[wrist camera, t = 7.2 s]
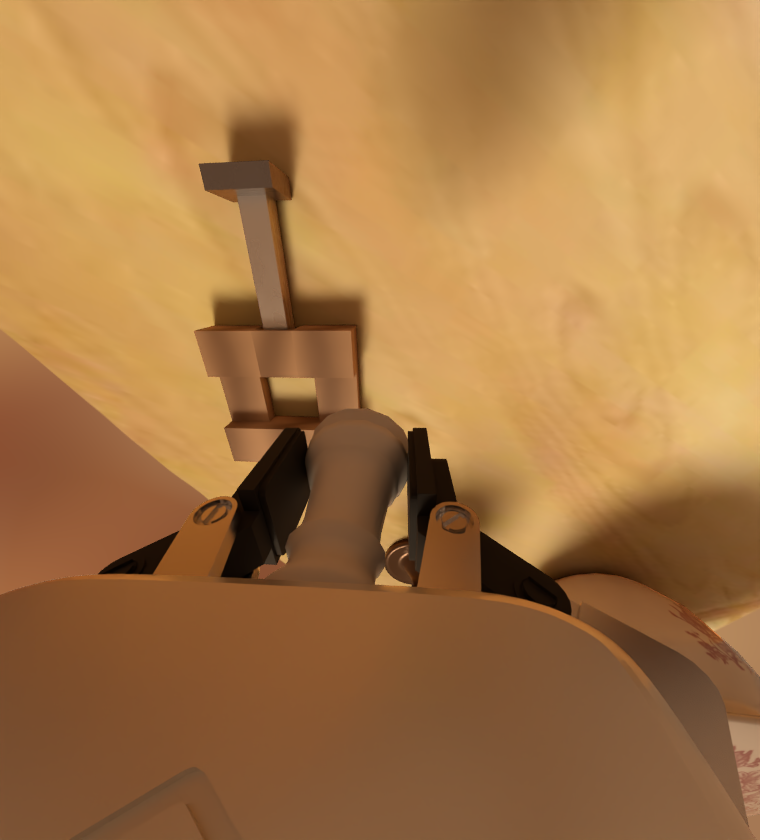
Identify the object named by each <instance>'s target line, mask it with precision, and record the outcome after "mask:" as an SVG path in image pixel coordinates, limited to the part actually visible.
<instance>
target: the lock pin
mask: <svg viewBox="0 0 760 840" xmlns="http://www.w3.org/2000/svg"><path fill="white" fill-rule="evenodd" d="M199 167H200V171H201V175H202V179H203V183H204V188H205V191H208V192H210V193H213V194H215V195H217V196H220V197H222V198H224V199H227V200H229V201H232V202H238V203H239V208H240V213H241V218H242V223H243V228H244V233H245V238H246V243H247V248H248V253H249V258H250V263H251V268H252V273H253V278H254V283H255V288H256V293H257V298H258V303H259V308H260V313H261V318H262V323H263V328H264V330H294V329H295V326H294V320H293V313H292V306H291V300H290V293H289V286H288V280H287V273H286V266H285V260H284V253H283V246H282V240H281V233H280V226H279V220H278V213H277V206H276V201H280V200H292V199H291V192H290V184H289V177H288V176H287V175H285V174H284V173H283V172H282V171H281V170H279V169H278V168H277V167H276V166H275V165H273V164H272V163H271V162H270V161H269V160H264V161H244V162H224V163H204V164H199Z"/></svg>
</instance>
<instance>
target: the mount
mask: <svg viewBox="0 0 760 840" xmlns="http://www.w3.org/2000/svg"><path fill="white" fill-rule="evenodd" d="M194 333H195V336H196V339H197V342H198V345H199V349H200V352H201V355H202V358H203V361H204V365H205V368H206V371H207V374H208V377H220V380H221V383H222V386H223V390H224V393H225V397H226V400H227V404H228V407H229V410H230V414H231V417H232V422H231V423H230V424H228V425H227V426H226V427H225V428H224V429H225V432H226V435H227V439H228V442H229V445H230V448H231V451H232V455H233V458H234V461H250V462H259V461H260V459H261V458H262V457H263V455H264V454H265V453H266V452H267V450H268V449H269V448H270V446H271V445H272V444H273V443H274V441H275V440H276V439H277V438H278V436H279V435H280V434H281V432H282V431H283V430H284V429H285V428H300V429H301V431H304V432H305V435H306V441H307V446H309V443H310V440H311V439H312V437H313V434H314V431H315V428H316V427H317V426H318V425H319V424H320V423H321V422H322V421H323V420H324V419H325V418H326V417H327V416H328V415H331V414H334V413H336V412H339V411H341V410H344V409H347V408H348V409H361V407H360V388H359V369H358V350H357V330H356V325H302V326H300V327H298V328H296V329H294V330H264V328H263V325H224V326H211V327H207V328H203V329H200V330H196V331H194ZM267 377H290V378H315V386H316V393H317V401H318V409H319V417H299V416H275V414H274V409H273V405H272V400H271V395H270V390H269V386H268V381H267Z"/></svg>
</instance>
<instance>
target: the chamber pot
mask: <svg viewBox="0 0 760 840" xmlns="http://www.w3.org/2000/svg"><path fill="white" fill-rule="evenodd" d="M554 581H555V582H557V583H558V584H559V585H560V587H561V588H562V589H563V590H564V591H565V592H566V594H567V596H568V598H569V599H570V600H572V601H574V602H576V603H577V604H579V605H580V604H581V602H582V601H583V602H585V603H587V604H589V605H590V606H592V607H594V608H596V609H598V610H600V611H602V612H604V613H605V614H607V615H609V616H611V617H613V618H615V619H617V620H619V621H621V622H622V623H624V624H626V625H628V626H630V627H632V628H634V629H636V630H637V631H639V632H641V633H643V634H645V635H647V636H649V637H651V638H652V639H654V640H656V641H658V642H660V643H662V644H664V645H666V646H667V647H669V648H671V649H673V650H675V651H677V652H679V653H680V654H682V655H683V656H685V657H686V658H688V659H689V660H691V661H692V662H694V663H695V664H696V665H697V666H698V667H699V668H700V669H701V670H702V671H703V672H704V673H705V674H707V675H708V677H709V678H710V679H711V681H712V682H713V683H714V685H715V686H716V687H717V689H718V690H719V692H720V694H721V697H722V699H723V702H724V704H725V708H726V713H727V718H728V723H729V729H730V734H731V739H732V744H733V749H734V754H735V759H736V764H737V769H738V774H739V779H740V785H741V790H742V795H743V800H744V805H745V810H746V815H747V816H753V815H758V814H760V677H759V675H758V674H757V673H756V672H755V671H754V670H753V669H752V667H751V666H750V665H749V664H748V663H747V662H746V661H745V660H744V658H743V657H741V655H740V654H739V653H738V652H737V651H736V650H735V649H734V648H732V647H731V646H730V645H729V644H728V643H727V642H726V641H724V640H723V639H722V638H721V637H720V636H719V635H718V634H716V633H715V632H714V631H713V630H712V629H711V628H710V627H709V626H707V625H706V624H705V623H704V622H703V621H702V620H701V619H699V618H698V617H697V616H696V615H695V614H693V613H692V612H691V611H690V610H688V609H687V608H686V607H685V606H683V605H682V604H680V603H678V602H676V601H674V600H672V599H670V598H668V597H667V596H665V595H663V594H661V593H659V592H657V591H655V590H653V589H652V588H650V587H648V586H646V585H644V584H642V583H639V582H636V581H633V580H630V579H627V578H624V577H621V576H618V575H611V574H601V573H590V574H579V575H572V576H569V577H565V578H561V579H558V580H554Z"/></svg>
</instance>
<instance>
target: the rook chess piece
mask: <svg viewBox="0 0 760 840" xmlns="http://www.w3.org/2000/svg"><path fill="white" fill-rule="evenodd" d="M305 466H306V471H307V477H308V481H309V487H310V490H311V492H310V496H309V500H308V505H307V509H306V513H305V517H304V520H303V522H302V524H301V525H300V526H299V527H298V528H296V529H295V530H294V531H293V532H291V533H290V534H289V537H288V540H287V543H286V545H285V549H286V553H287V557H288V562H287V563H286V565H285V566H283V567H281V568H280V569H278V570H276V571H275V572H273V573H272V574H270V575H269V576H267V577H266V578H265V579H272V580H293V581H313V582H333V583H352V584H370V585H375V580H376V578H377V577H379V575H380V573H381V572H382V570H383V569H384V567H385V551H384V549H383V548H382V546H381V544H380V538H381V532H382V528H383V524H384V520H385V516H386V512H387V508H388V507H389V506H390V505H392V503H393V501H394V499H395V498H396V497H398V496H399V494H400V493H401V491H402V489H403V487H404V486H405V484H406V482H407V480H408V439H407V437H406V435H405V433H404V430H403V429H402V428H401V427H399V426H398V425H397V424H396V423H395V422H394V421H393V420H392V419H391V418H389V417H388V416H386V415H383V414H381V413H378V412H375V411H373V410H370V409H348V408H347V409H344V410H341V411H339V412H336V413H334V414H331V415H328V416H327V417H326V418H325V419H324V420H323V421H322V422H321V423H320V424H319V425H318V426H317V427H316V428H315V431H314V434H313V437H312V439H311V440H310V443H309V446H308V450H307V453H306V456H305Z"/></svg>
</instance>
